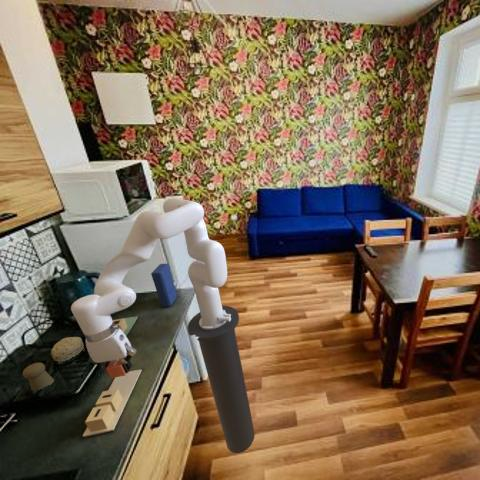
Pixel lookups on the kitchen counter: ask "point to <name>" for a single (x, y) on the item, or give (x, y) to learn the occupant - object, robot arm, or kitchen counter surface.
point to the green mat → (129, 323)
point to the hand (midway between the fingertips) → (120, 370)
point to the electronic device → (164, 285)
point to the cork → (37, 376)
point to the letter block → (115, 369)
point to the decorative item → (67, 348)
